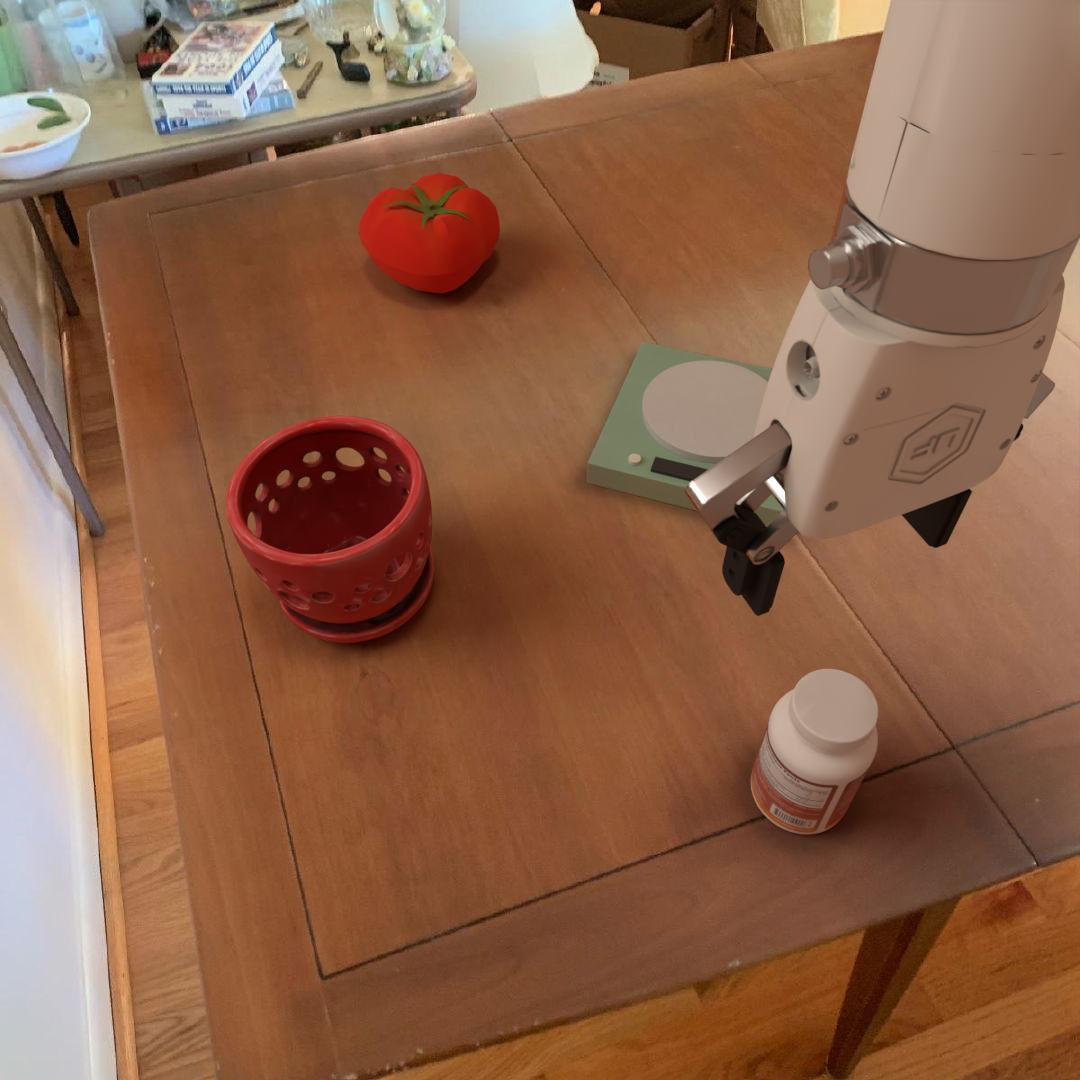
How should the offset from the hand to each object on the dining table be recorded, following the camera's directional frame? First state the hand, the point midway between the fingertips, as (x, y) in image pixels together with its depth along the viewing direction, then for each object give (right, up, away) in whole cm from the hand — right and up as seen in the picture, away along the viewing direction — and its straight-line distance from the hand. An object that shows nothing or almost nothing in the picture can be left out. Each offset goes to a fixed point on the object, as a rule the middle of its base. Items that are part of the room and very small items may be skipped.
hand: (834, 557), depth 46 cm
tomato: (-24, +27, +51) cm, 63 cm away
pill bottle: (+2, -15, +16) cm, 22 cm away
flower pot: (-28, -3, +27) cm, 39 cm away
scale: (0, +9, +36) cm, 37 cm away
